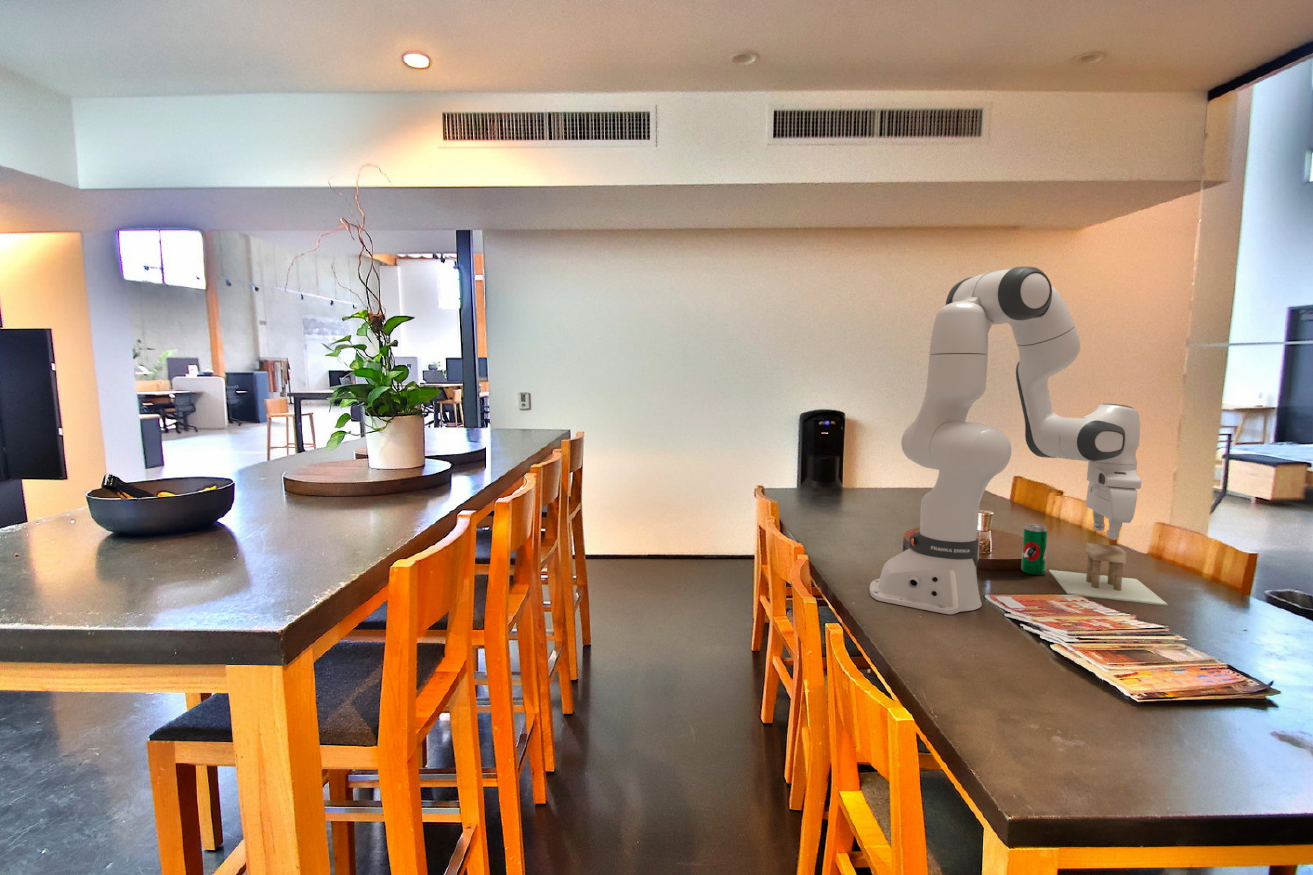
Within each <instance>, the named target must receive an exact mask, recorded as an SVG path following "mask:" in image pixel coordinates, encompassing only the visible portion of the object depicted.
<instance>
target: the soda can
mask: <svg viewBox="0 0 1313 875" xmlns="http://www.w3.org/2000/svg"><path fill="white" fill-rule="evenodd" d="M1022 532H1023V534H1022V535H1023V536H1022V551H1021V567H1020V570H1022V573H1025V574H1027V575H1032V576H1042V575H1044V574H1045V573H1046V566H1047V565H1046V563H1047V561H1046V560H1047V549H1048V534H1049V533H1048V529H1047V526H1045V525H1044V524H1039V523H1038V524H1037V523H1026V524H1025V527H1024V528H1023V531H1022Z"/></svg>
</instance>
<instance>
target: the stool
mask: <svg viewBox="0 0 1313 875" xmlns="http://www.w3.org/2000/svg"><path fill="white" fill-rule="evenodd" d="M1085 554H1086V555H1087V564H1086V574H1087V576H1086V581H1087V582H1090V583H1092V585H1091V587H1093V588H1099V580H1100V575H1101V567H1102V566H1101V564H1102V562H1108V570H1107V571H1108V572H1107V576H1108V584H1110V585H1114V588H1113V589H1114V590H1118V591H1121V586H1122V577H1123V571H1124V564H1126V563H1127V551H1126V550H1124V549H1122V547H1120V546H1118V545H1112V544H1111V545H1110V544H1109V545H1108V544H1099V543H1089V542H1087V543H1086V551H1085Z"/></svg>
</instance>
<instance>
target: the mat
mask: <svg viewBox="0 0 1313 875" xmlns="http://www.w3.org/2000/svg"><path fill="white" fill-rule="evenodd" d="M1048 572H1049V573H1050V575H1051V576H1052V577H1053V578H1054V580H1055V581H1056V582H1057V583H1058V584H1059V586H1060V587H1061V588H1062V589H1063V590H1064V592H1065V593H1066V594H1067V595H1071V596H1080V597H1087V598H1090V597H1091V598H1098V599H1104V600H1106V599H1107V600H1112V601H1113V600H1114V601H1123V602H1130V603H1131V602H1132V603H1138V604H1139V603H1141V604H1148V605H1149V604H1150V605H1156V606H1165V607H1166V606H1167V607H1168V605H1169V604H1168V603H1167V602H1166V601H1164V600H1163V599H1162V598H1161V597H1160V596H1158V595H1157V593H1155V592H1153V591H1152V590H1151V589H1150V588H1148V587H1147V586H1146V585H1145V584H1144V583H1143V582H1141V581H1139V580H1138V579H1137V578H1131V577H1123V576H1122V586H1121V591H1118V590H1114V589H1113V588H1114V585H1110V584H1108V575H1104V574H1102V575H1101V574H1100V580H1099V588H1093V587H1091V585H1092V583H1090V582H1087V581H1086V576H1087V573H1084V572H1073V571H1066V570H1065V571H1064V570H1055V569H1048Z"/></svg>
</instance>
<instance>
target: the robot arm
mask: <svg viewBox="0 0 1313 875" xmlns="http://www.w3.org/2000/svg"><path fill="white" fill-rule="evenodd" d="M1007 323H1008V325H1009V326H1010V327H1011V330H1012V334H1013V338H1014V340H1015V343H1016V346H1017V349H1018V353H1019V361H1018V362H1017V364H1016V367H1015V378H1016V379H1015V380H1016V384H1017V390H1018V395H1019V399H1020V404H1021V408H1022V413H1023V419H1024V425H1025V426H1024V427H1025V430H1024V432H1025V433H1024V436H1025V443H1026V445H1027V447H1028V449H1029V451H1031V452H1032V454H1034V455H1035V456H1037V457H1040V458H1050V459H1051V458H1052V459H1058V458H1059V459H1064V460H1065V459H1066V460H1071V461H1083V462H1087V463H1088V464H1087V472H1086V481H1088V486H1087V492H1086V501H1085V504H1086V507H1087V508H1089V509H1090V510H1092V518H1093V529H1094V530H1096V531H1100V532H1103V531H1104V530H1105V526H1106V524H1105V518H1106V519H1108V529H1106V538H1108V539H1109V540H1114V541H1117V540H1118V539H1119V534H1120V530H1121V528H1122V527H1123V524H1124V523H1125V524H1130V523H1132V520H1133V519H1134V517H1135V511H1136V507H1137V506H1136V505H1137V500H1138V491H1137V490H1140V489H1141V488H1142V479H1141V478H1140V476H1139V475H1138V471H1137V470H1138V469H1137V465H1138V461H1137V457H1136V453H1137V450H1138V448H1139V446H1140V438H1141V437H1140V436H1141V422H1140V420H1141V419H1140V414H1139V411H1138V410H1137V409H1136V408H1134V407H1131V406H1129V405H1126V404H1125V405H1124V404H1117V403H1103V404H1098V405H1097V407H1096V409H1095V410H1094V411H1092V412H1091V413H1089V414H1087V415H1084V416H1081V417H1070V416H1069V417H1067V416H1061V415H1058V414H1057V413H1056V412H1054V410H1053V408H1052V407H1053V405H1052V402H1051V401H1052V400H1051V397H1050V391H1049V387H1048V382H1049V379H1050V377H1052V376H1054V375H1056V374H1058V373H1059V372H1061V371H1063V370H1065V369H1067V368H1068V367H1069V366H1071V364H1073V362H1074V361H1075V360H1076V359H1077V357H1078V355H1079V354H1080V351H1081V340H1080V335H1079V333H1078V330H1077V327H1076V325H1075V322H1074V319H1073V317H1072V315H1071V312H1070V310H1069V308H1068V306H1067V304H1066V302H1065V300H1064V298H1062V295H1061V293H1060V292H1059V291H1058V290H1057V288H1056V287H1055V286H1053V285H1052V283H1051V281H1050V279H1049V277H1048V276H1047V275H1046V274H1045V272H1043V270H1041V269H1040V268H1037V267H1036V266H1035V267H1034V266H1016V267H1013V268H1008V269H1001V270H991V271H986V272H983V273H981V274H978V275H975V276H971V277H967V278H964V279H963V280H961V281H959V282H957V283H956V284H954V285H953V287H951V289H950V290H949V292H948V295H947V296H946V300H945V305H944V306H942V307H941V308H939V310H938V311H937V313H936V316H935V320H934V323H933V327H932V330H931V331H932V332H931V338H930V342H929V344H930V345H929V351H928V352H929V354H928V355H929V356H928V368H927V380H926V389H925V394H924V398H923V401H922V404H921V407H920V409H919V411H918V413H917V415H916V417H915V419H914V420H913V421H912V423H911V424H910V425H908V426H907V428H906V429H905V430H904V431H903V434H902V436H901V444H900V445H901V450H902V452H903V453H904V455H905V456H906V458H907V459H909V461H912V462H913V463H915V464H917V465H920V467H923V468H927V469H932V470H938V476H937V479H936V482H935V484H934V486H933V488H932V490H929V491H928V492H927V493H925V494H923V496H922V498H921V502H920V517H919V518H920V520H919V522H920V523H919V524H920V525H919V531H917V532H916V531H915V530H911V529H910V530H908V531H907V533H906V537H907V539H908V547H909V548H907V549H905V550H904V551H901V552H900V553H899V554H897V555H895V556H893V557H891V558H890V559H887V560H886V562H885V563H884V565H883V567H882V569H881V571H880V576H879V578H875V579H874V580H872V581H871V582H870V584H869V589H868V590H869V594H870V596H871V598H873V599H875V600H876V601H879V602H884V603H888V604H893V605H898V606H899V605H900V606H902V607H904V606H905V607H909V608H912V609H913V608H914V609H919V610H924V611H929V612H934V613H940V614H945V615H955V614H957V613H959V612H961V613H962V612H969V611H970V612H971V611H975V610H977V609H979V608H981V607H982V605H983V603H982V599H981V597H980V592H979V586H978V577H977V566H978V562H979V555H980V543H979V539H978V537H977V536H978V521H979V513H980V511H979V510H980V504H981V500H982V497H983V495H984V492H985V491H986V489H987V487H988V484H990V482H991V481H992V479H993V478H995V476H997V475H998V474H1000V473H1001V472H1003V471H1004V470H1005V468H1006V467H1007V466H1008V464H1009V462H1010V459H1011V456H1012V444H1011V441H1010V440H1009V437H1008V435H1007V434H1006V433H1004V432H1003V431H1001V430H999V429H997V428H995V427H992V426H989V425H987V424H984V423H980V422H969V421H966V420H967V416H968V414H969V411H970V410H971V407H972V406H973V405H974V403H975V402H976V401H978V400H979V399H981V398H982V397H983V395H984V394H985V391H986V387H987V385H986V384H987V375H988V374H987V373H988V360H989V358H988V357H989V356H988V354H989V333H990V332H989V331H990V329H991V328H992V326H993V325H1001V324H1002V325H1003V324H1007Z"/></svg>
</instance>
